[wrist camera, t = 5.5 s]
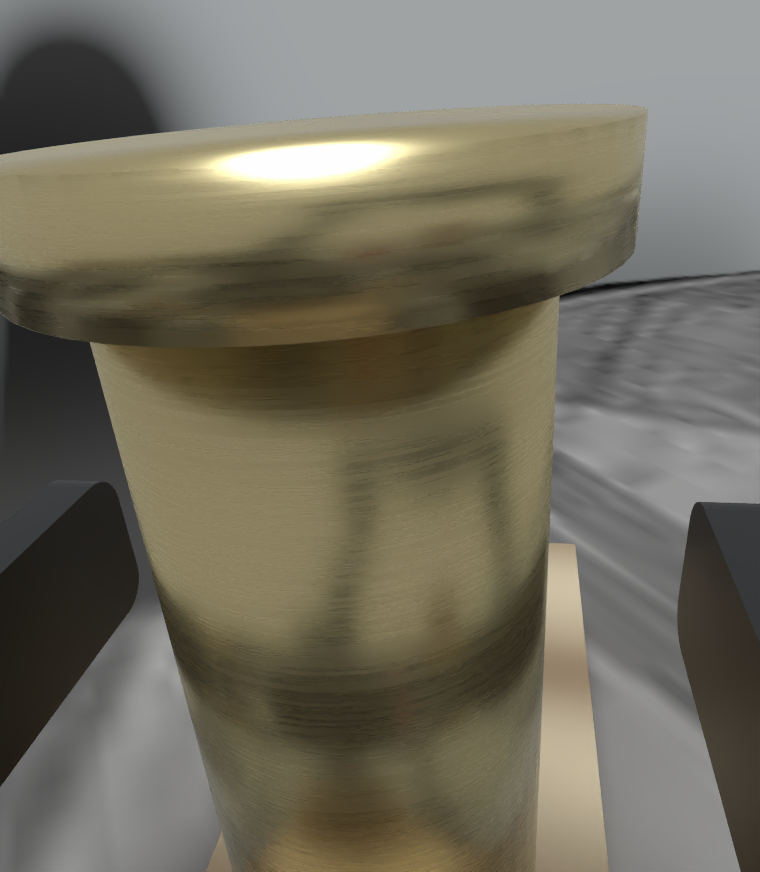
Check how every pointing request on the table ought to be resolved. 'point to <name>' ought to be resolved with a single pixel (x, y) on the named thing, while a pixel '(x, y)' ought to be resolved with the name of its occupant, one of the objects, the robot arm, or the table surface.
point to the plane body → (556, 738)
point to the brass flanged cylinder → (340, 444)
